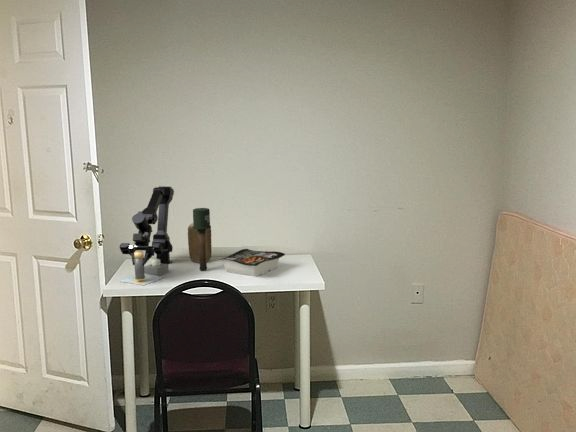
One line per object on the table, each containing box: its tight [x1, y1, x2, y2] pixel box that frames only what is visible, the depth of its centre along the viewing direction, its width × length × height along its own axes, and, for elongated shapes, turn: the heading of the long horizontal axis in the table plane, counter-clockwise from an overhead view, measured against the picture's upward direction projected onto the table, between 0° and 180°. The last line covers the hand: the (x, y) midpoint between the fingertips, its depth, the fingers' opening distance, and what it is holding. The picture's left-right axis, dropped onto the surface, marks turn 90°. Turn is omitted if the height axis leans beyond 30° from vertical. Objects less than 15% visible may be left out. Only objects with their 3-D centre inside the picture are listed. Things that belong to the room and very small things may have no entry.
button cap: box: [151, 258, 160, 267], centre depth 286 cm, size 4×4×5 cm
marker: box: [134, 251, 146, 280], centre depth 269 cm, size 4×4×12 cm
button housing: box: [144, 263, 169, 277], centre depth 286 cm, size 8×8×4 cm
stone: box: [187, 222, 212, 263], centre depth 304 cm, size 12×7×20 cm, turn 99°
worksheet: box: [119, 274, 163, 287], centre depth 274 cm, size 13×14×1 cm
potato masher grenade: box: [192, 207, 212, 272], centre depth 287 cm, size 8×9×30 cm
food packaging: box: [218, 248, 286, 278], centre depth 289 cm, size 25×8×23 cm
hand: (138, 264), depth 268 cm, fingers closed on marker, 4 cm apart
